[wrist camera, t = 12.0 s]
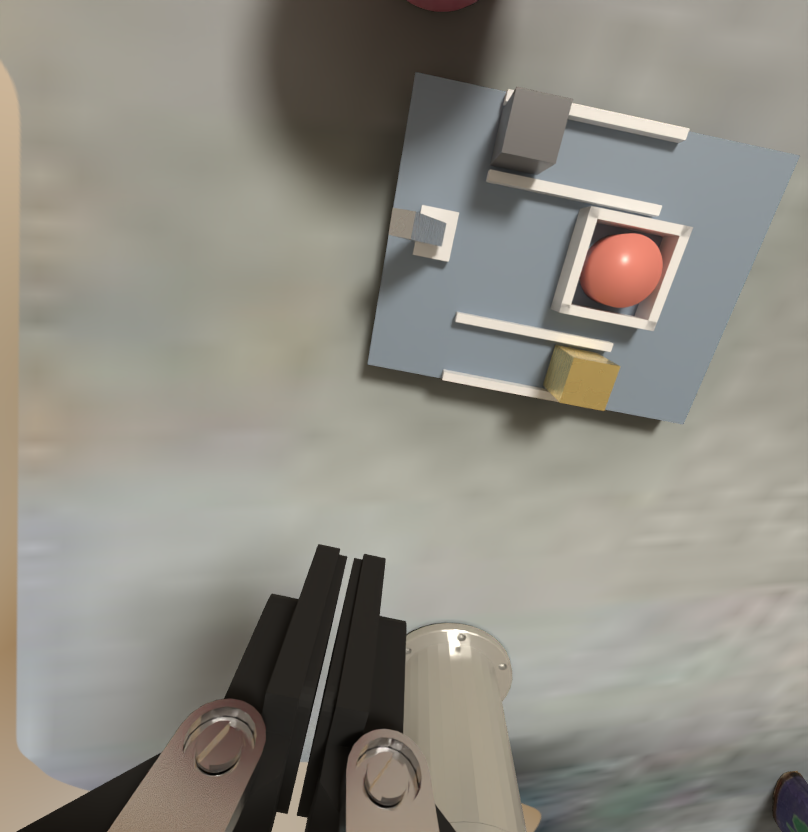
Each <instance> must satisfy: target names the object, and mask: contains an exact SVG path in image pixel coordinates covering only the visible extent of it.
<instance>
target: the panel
mask: <svg viewBox="0 0 808 832" xmlns="http://www.w3.org/2000/svg"><path fill="white" fill-rule="evenodd" d="M513 92H514V90H510V89H508V90H507V92H506V91H501V90H496V89H492V88H487V87H483V86H478V85H474V84H469V83H464V82H460V81H455V80H451V79H446V78H441V77H437V76H432V75H428V74H423V73H418V72H415V78H414V84H413V90H412V97H411V103H410V109H409V115H408V121H407V127H406V133H405V139H404V145H403V151H402V157H401V163H400V170H399V176H398V182H397V188H396V194H395V200H394V206H393V208H398V209H404V210H410V211H416V212H419V213H421V214H424V215H427V216H429V217H432V218H434V219H437V220H440V221H442V222H445V223H446V228H445V233H444V238H443V243H442V247H440V246H435V245H430V244H425V243H420V242H416V241H412V240H408V239H403V238H399V237H395V236H391V235H389V236H388V243H387V249H386V255H385V261H384V267H383V273H382V279H381V285H380V291H379V297H378V303H377V309H376V316H375V322H374V328H373V334H372V340H371V346H370V352H369V358H368V365H374V366H379V367H384V368H389V369H395V370H400V371H405V372H410V373H416V374H421V375H426V376H431V377H437V378H442V380H445V381H450V382H455V383H460V384H466V385H471V386H476V387H481V388H487V389H492V390H497V391H503V392H508V393H513V394H518V395H524V396H529V397H534V398H539V399H545V400H550V401H555V402H558V401H557V400H556V398H555V397H554V396H553V395H552V394H551V393H550V392H549V391H548V390H547V389H546V388H545V387H544V386H543V383H544V380H545V377H546V374H547V370H548V367H549V364H550V361H551V357H552V354H553V351H554V348H555V345H559V346H564V347H569V348H574V349H580V350H585V351H590V352H595V353H598V354H600V355H601V356H603V357H605V358H607V359H608V360H610V361H612V362H614V363H615V364H617V365H619V366H621V367H620V370H619V372H618V375H617V378H616V381H615V383H614V386H613V389H612V392H611V394H610V397H609V400H608V403H607V405H606V408H605V410H610V411H615V412H621V413H626V414H631V415H636V416H642V417H647V418H652V419H657V420H663V421H668V422H673V423H679V424H684V422H685V419H686V417H687V415H688V412H689V410H690V408H691V406H692V403H693V401H694V399H695V396H696V394H697V392H698V389H699V387H700V385H701V383H702V380H703V378H704V376H705V373H706V371H707V369H708V366H709V364H710V362H711V360H712V357H713V355H714V353H715V350H716V348H717V346H718V343H719V341H720V339H721V337H722V334H723V332H724V330H725V327H726V325H727V323H728V320H729V318H730V316H731V313H732V311H733V309H734V307H735V304H736V302H737V300H738V297H739V295H740V293H741V290H742V288H743V286H744V284H745V281H746V279H747V277H748V274H749V272H750V270H751V267H752V265H753V263H754V261H755V258H756V256H757V254H758V251H759V249H760V247H761V244H762V242H763V240H764V238H765V235H766V233H767V231H768V228H769V226H770V224H771V221H772V219H773V217H774V215H775V212H776V210H777V208H778V205H779V203H780V201H781V198H782V196H783V194H784V192H785V189H786V187H787V185H788V182H789V180H790V178H791V175H792V173H793V171H794V168H795V166H796V164H797V162H798V159H799V157H800V156H799V155H795V154H790V153H786V152H781V151H777V150H772V149H767V148H763V147H758V146H754V145H749V144H744V143H740V142H735V141H731V140H726V139H721V138H717V137H712V136H708V135H703V134H698V133H694V132H689V128H684V127H680V126H675V125H671V124H666V123H662V122H657V121H652V120H648V119H643V118H639V117H634V116H629V115H625V114H620V113H616V112H611V111H607V110H602V109H597V108H593V107H588V106H584V105H579V104H574V103H572V105H571V109H570V112H569V116H568V120H567V123H566V127H565V131H564V135H563V138H562V142H561V146H560V149H559V153H558V157H557V160H556V164H554V165H553V166H551V167H549V168H548V169H546V170H545V171H543V172H541V173H540V174H538V175H534V174H529V173H524V172H519V171H515V170H510V169H505V168H501V167H496V166H491V165H490V163H491V159H492V155H493V150H494V146H495V141H496V137H497V132H498V128H499V124H500V119H501V115H502V110H503V108H504V107H505V105H506V103H507V102H508V100H509V98H510V97H511V95H512V93H513ZM629 233H635V234H641V235H644V236H646V237H648V238H650V239H651V240H652V241H653V242H654V243H655V244H656V245H657V246H658V248H659V250H660V253H661V256H662V262H663V267H662V274H661V277H660V280H659V282H658V284H657V286H656V288H655V289H654V290H653V292H652V293H651V294H650V295H649V296H648V297H647V298H645V299H644V300H643V301H641V302H639V303H638V304H635V305H633V306H630V307H624V308H617V307H612V306H608V305H605V304H601V303H598V302H595V301H593V300H592V299H590V298H589V297H588V296H587V295H586V294H585V292H584V291H583V289H582V287H581V284H580V279H579V277H580V274H581V271H582V267H583V264H584V261H585V258H586V254H587V251H588V250H589V248H590V247H591V246H592V245H593V244H594V243H596V242H597V241H599V240H600V239H602V238H604V237H607V236H610V235H616V234H629Z"/></svg>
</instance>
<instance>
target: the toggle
mask: <svg viewBox="0 0 808 832" xmlns="http://www.w3.org/2000/svg"><path fill="white" fill-rule="evenodd" d="M445 228H446V223H445V222H442V221H440V220H437V219H434V218H432V217H429V216H427V215H424V214H421V213H419V212H416V211H410V210H404V209H398V208H393V210H392V216H391V222H390V228H389V234H388V235H391V236H395V237H399V238H403V239H408V240H412V241H416V242H420V243H425V244H430V245H435V246H440V247H442V243H443V238H444V233H445Z"/></svg>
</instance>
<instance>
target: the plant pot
mask: <svg viewBox="0 0 808 832" xmlns="http://www.w3.org/2000/svg"><path fill="white" fill-rule="evenodd" d="M407 1H408V2H410V3H411V4H413V5H415V6H417V7H420V8H423V9H426V10H430V11H437V12H448V11H455V10H458V9H462V8H464V7H467V6H469V5H471V4H473V3H475V2H477V1H478V0H407Z"/></svg>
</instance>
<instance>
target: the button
mask: <svg viewBox="0 0 808 832" xmlns="http://www.w3.org/2000/svg"><path fill="white" fill-rule="evenodd" d="M662 267H663V262H662V256H661V253H660V250H659V248H658V246H657V245H656V244H655V243H654V242H653V241H652V240H651V239H650V238H648V237H646V236H644V235H641V234H635V233H629V234H616V235H610V236H607V237H604V238H602V239H600V240H599V241H597V242H596V243H594V244H593V245H592V246H591V247H590V248H589V250H588V251H587V254H586V258H585V261H584V264H583V267H582V271H581V274H580V277H579V279H580V284H581V287H582V289H583V291H584V292H585V294H586V295H587V296H588V297H589V298H590V299H592V300H593V301H595V302H598V303H601V304H605V305H608V306H612V307H617V308H624V307H630V306H633V305H635V304H638V303H639V302H641V301H643V300H644V299H645V298H647V297H648V296H649V295H650V294H651V293H652V292H653V290H654V289H655V288H656V286H657V284H658V282H659V280H660V277H661V274H662Z"/></svg>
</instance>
